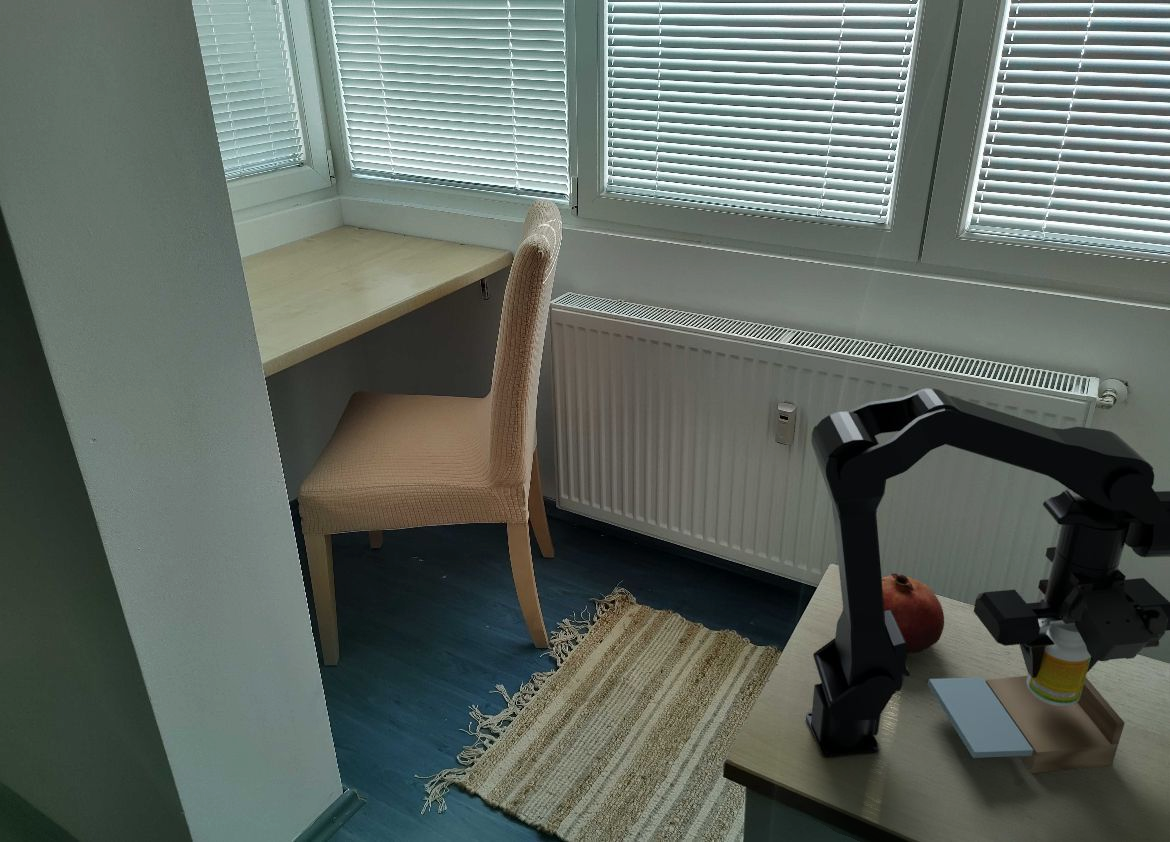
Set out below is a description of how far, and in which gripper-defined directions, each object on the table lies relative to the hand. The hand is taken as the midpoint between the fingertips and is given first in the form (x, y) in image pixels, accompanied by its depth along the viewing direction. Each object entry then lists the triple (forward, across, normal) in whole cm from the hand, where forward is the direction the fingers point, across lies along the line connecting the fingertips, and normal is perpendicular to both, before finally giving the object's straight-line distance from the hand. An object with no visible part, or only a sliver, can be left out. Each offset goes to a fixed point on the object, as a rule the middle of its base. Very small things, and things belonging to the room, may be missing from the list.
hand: (1057, 672), depth 98 cm
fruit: (+9, -10, +16) cm, 21 cm away
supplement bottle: (+3, 0, 0) cm, 3 cm away
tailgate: (+6, -4, 0) cm, 7 cm away
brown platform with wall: (+8, 0, 0) cm, 8 cm away
